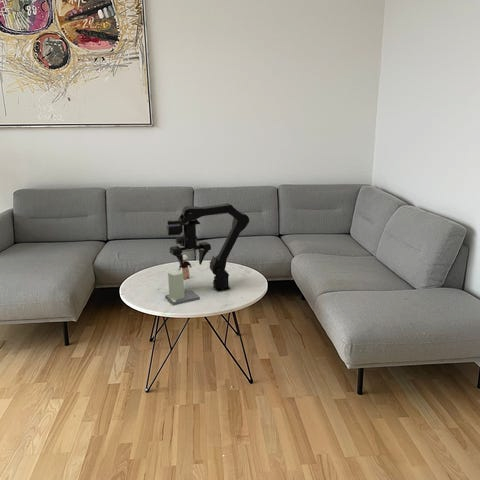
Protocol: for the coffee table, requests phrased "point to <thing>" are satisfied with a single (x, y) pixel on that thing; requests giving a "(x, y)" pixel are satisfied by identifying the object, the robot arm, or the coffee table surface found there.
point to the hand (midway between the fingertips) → (191, 266)
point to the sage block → (176, 285)
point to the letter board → (188, 297)
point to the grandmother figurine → (185, 267)
